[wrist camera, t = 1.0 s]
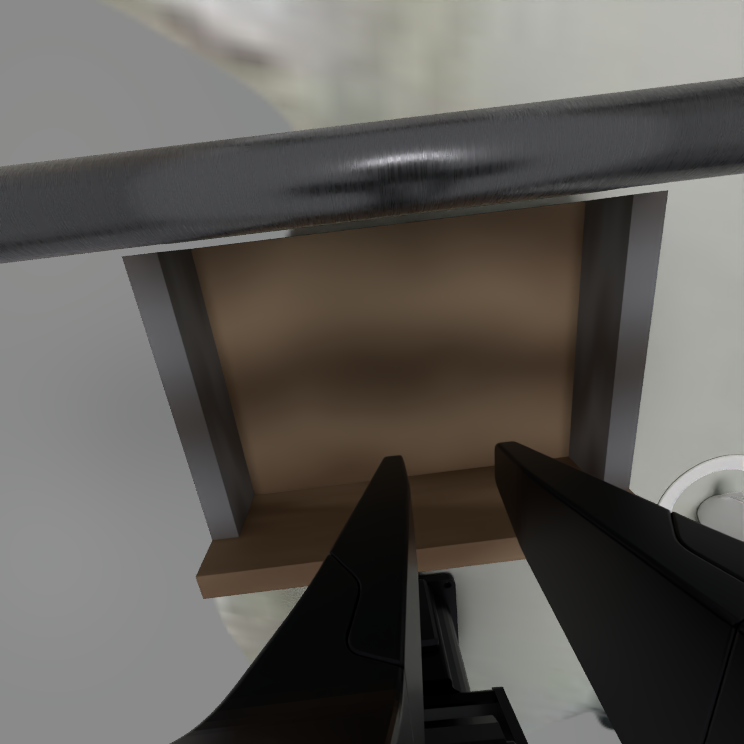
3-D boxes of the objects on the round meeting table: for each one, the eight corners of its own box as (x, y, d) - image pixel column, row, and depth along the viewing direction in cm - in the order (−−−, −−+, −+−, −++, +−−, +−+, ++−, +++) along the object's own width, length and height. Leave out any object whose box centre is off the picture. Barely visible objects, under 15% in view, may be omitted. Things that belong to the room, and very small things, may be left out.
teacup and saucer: (733, 566, 27) (796, 621, 23) (626, 557, 26) (672, 613, 23) (796, 457, 24) (879, 499, 20) (677, 444, 24) (741, 485, 20)
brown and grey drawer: (570, 453, 23) (657, 542, 16) (246, 492, 23) (203, 598, 16) (586, 201, 18) (718, 183, 12) (181, 250, 18) (84, 260, 12)
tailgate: (602, 196, 16) (939, 148, 7) (173, 248, 16) (-74, 271, 7) (605, 153, 16) (977, 37, 6) (162, 206, 16) (-123, 170, 6)
